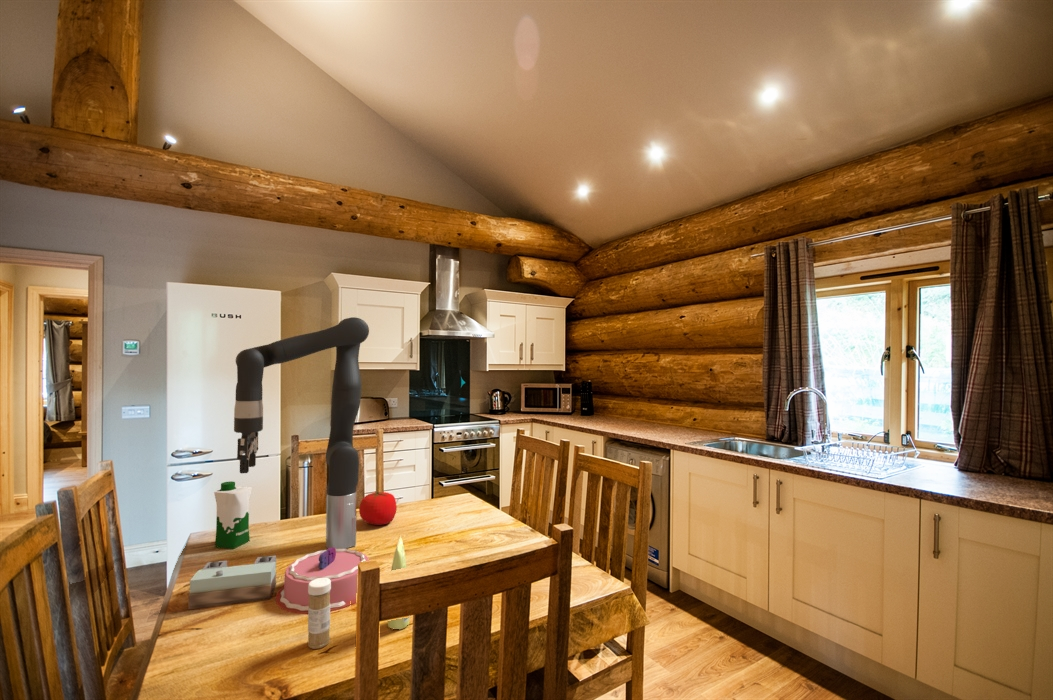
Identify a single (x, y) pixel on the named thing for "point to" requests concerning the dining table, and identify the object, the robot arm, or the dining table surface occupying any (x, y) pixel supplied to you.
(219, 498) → the milk carton
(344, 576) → the cake
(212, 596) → the carcass
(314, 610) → the sprinkles bottle
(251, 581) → the door
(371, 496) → the tomato
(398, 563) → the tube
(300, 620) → the dining table surface
